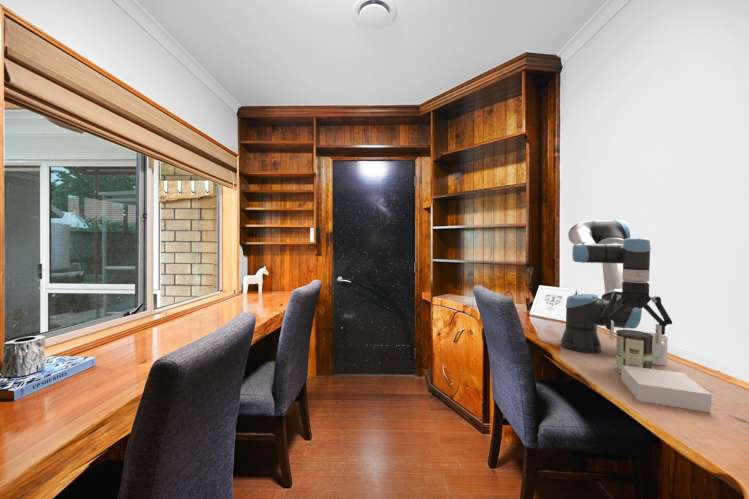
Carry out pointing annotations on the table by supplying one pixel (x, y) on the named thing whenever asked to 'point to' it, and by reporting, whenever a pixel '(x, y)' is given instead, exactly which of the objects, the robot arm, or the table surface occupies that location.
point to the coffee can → (633, 349)
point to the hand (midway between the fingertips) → (634, 341)
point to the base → (666, 388)
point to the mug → (659, 350)
